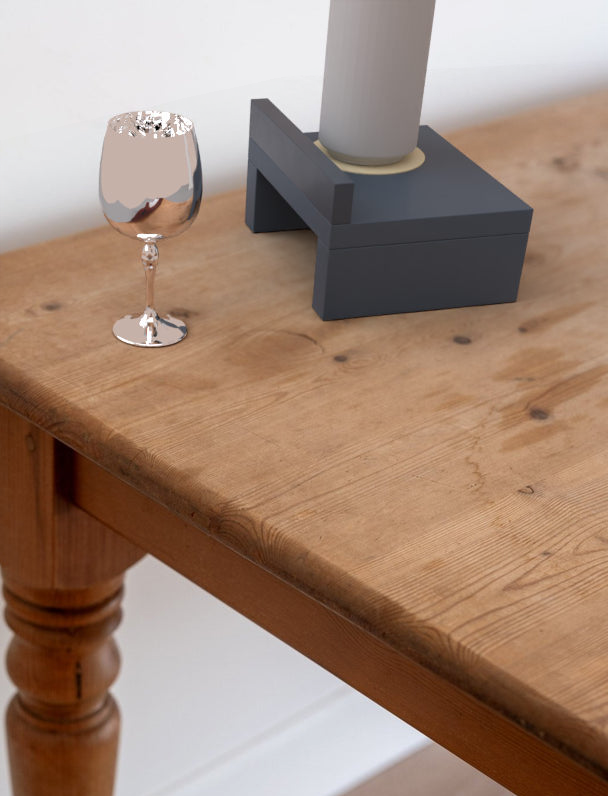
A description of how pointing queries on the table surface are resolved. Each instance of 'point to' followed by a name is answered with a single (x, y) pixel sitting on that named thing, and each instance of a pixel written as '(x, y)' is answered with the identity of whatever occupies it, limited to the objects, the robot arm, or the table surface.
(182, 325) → the wineglass
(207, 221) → the table surface
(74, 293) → the table surface
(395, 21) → the beverage can
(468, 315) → the table surface
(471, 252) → the dark grey stand
